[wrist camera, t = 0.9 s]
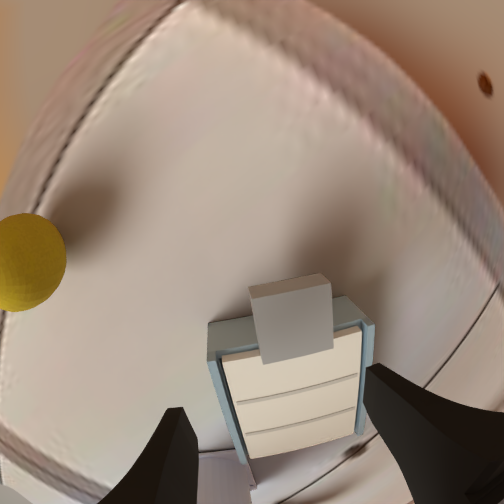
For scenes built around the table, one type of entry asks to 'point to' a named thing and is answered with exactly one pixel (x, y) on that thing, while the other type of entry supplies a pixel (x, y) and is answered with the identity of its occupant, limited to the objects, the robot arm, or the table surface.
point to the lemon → (29, 261)
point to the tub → (245, 339)
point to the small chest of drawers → (295, 369)
